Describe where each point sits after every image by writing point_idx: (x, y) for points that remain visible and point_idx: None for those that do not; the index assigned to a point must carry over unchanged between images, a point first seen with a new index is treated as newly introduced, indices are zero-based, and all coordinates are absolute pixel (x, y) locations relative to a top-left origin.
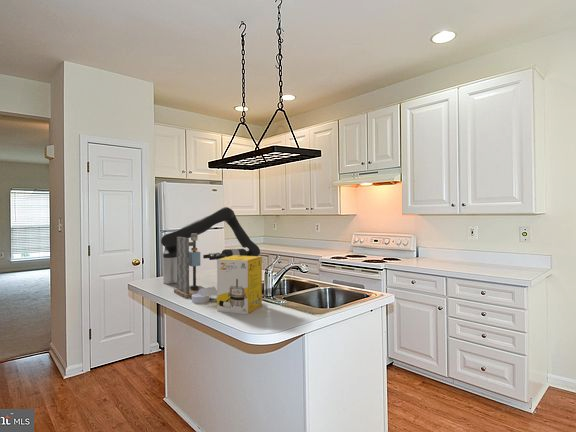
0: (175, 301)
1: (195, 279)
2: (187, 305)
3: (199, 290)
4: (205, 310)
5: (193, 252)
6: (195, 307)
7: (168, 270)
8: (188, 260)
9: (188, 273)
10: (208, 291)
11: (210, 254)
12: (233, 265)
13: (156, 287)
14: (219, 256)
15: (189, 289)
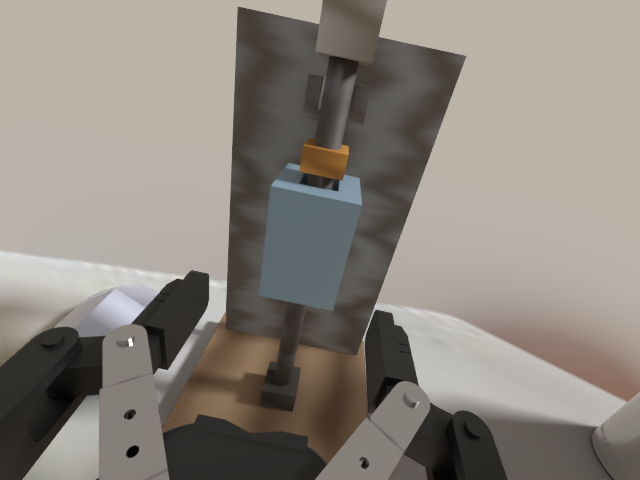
0: (222, 288)
1: (279, 352)
2: (137, 280)
3: (127, 297)
4: (15, 274)
5: (285, 166)
6: (85, 278)
7: None
8: (231, 178)
9: (229, 246)
10: (71, 320)
11: (387, 397)
12: None
13: (503, 360)
14: (36, 345)
15: (308, 380)
